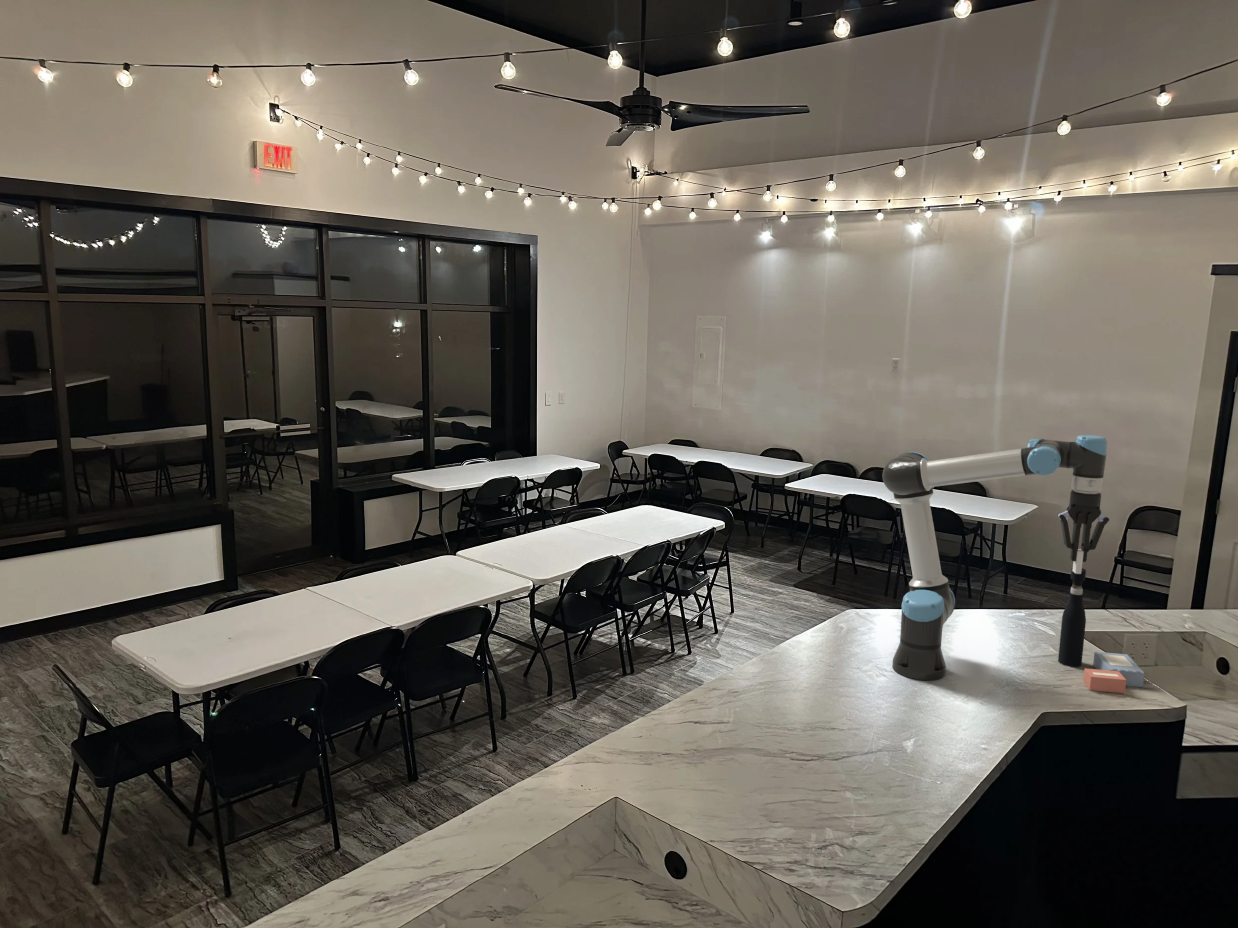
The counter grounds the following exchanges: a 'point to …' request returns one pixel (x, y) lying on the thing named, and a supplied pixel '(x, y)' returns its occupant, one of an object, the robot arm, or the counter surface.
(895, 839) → the counter surface
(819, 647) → the counter surface
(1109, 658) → the blue labeled box
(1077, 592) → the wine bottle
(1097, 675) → the red box
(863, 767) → the counter surface
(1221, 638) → the counter surface
